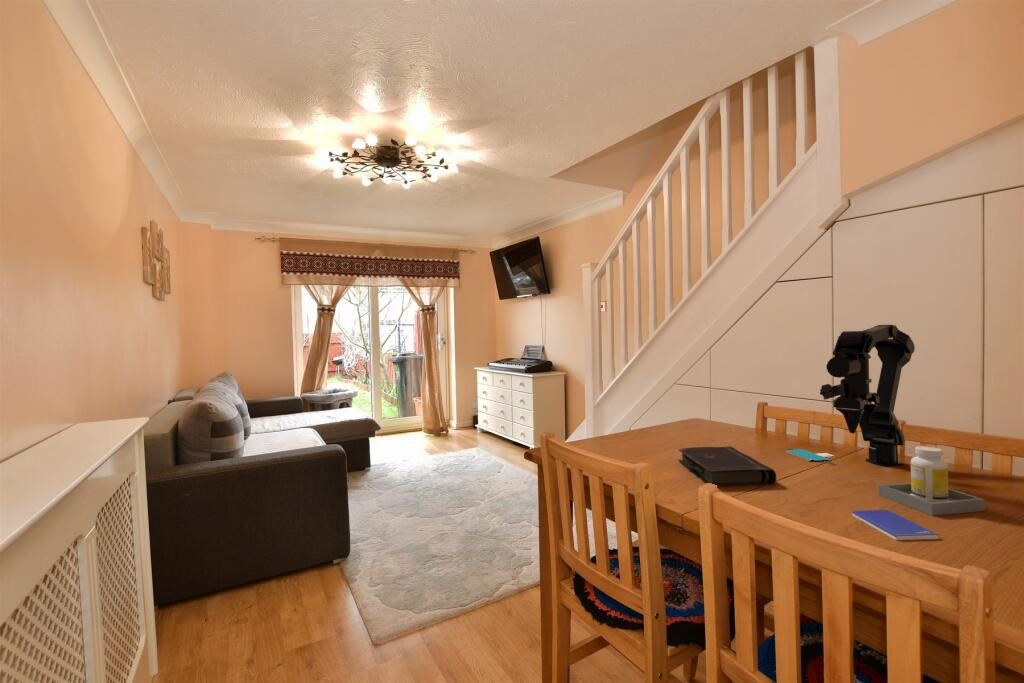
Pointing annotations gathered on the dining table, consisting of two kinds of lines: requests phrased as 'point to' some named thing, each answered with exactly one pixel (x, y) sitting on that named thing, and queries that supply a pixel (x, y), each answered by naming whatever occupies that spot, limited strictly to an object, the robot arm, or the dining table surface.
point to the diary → (726, 467)
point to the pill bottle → (929, 474)
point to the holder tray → (954, 504)
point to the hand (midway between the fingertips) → (857, 430)
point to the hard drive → (894, 525)
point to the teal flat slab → (810, 455)
